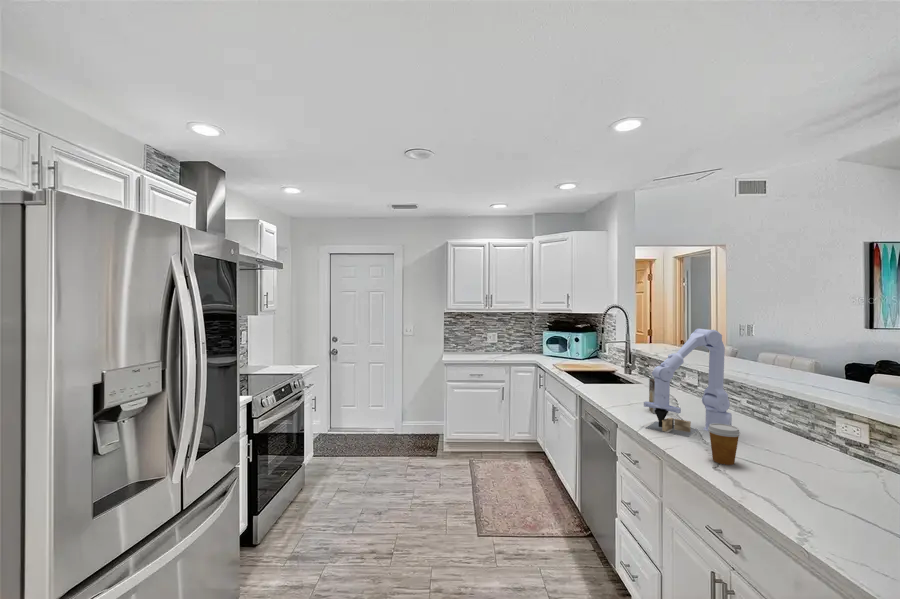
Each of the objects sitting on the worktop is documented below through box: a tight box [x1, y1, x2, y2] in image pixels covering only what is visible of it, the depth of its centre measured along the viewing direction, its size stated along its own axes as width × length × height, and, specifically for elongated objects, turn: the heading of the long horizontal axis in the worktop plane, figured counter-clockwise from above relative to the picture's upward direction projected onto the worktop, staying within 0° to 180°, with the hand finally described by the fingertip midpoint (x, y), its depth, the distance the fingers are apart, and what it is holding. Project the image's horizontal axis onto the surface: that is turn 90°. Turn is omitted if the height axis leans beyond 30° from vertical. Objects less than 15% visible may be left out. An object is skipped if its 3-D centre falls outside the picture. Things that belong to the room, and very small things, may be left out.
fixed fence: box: [674, 418, 692, 432], centre depth 182 cm, size 6×1×4 cm, turn 48°
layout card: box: [645, 421, 699, 438], centre depth 184 cm, size 17×15×1 cm
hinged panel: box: [662, 417, 675, 431], centre depth 182 cm, size 8×2×4 cm, turn 129°
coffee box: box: [648, 378, 656, 415], centre depth 215 cm, size 9×6×16 cm
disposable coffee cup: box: [708, 423, 741, 466], centre depth 148 cm, size 10×10×12 cm
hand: (661, 426), depth 182 cm, fingers closed
